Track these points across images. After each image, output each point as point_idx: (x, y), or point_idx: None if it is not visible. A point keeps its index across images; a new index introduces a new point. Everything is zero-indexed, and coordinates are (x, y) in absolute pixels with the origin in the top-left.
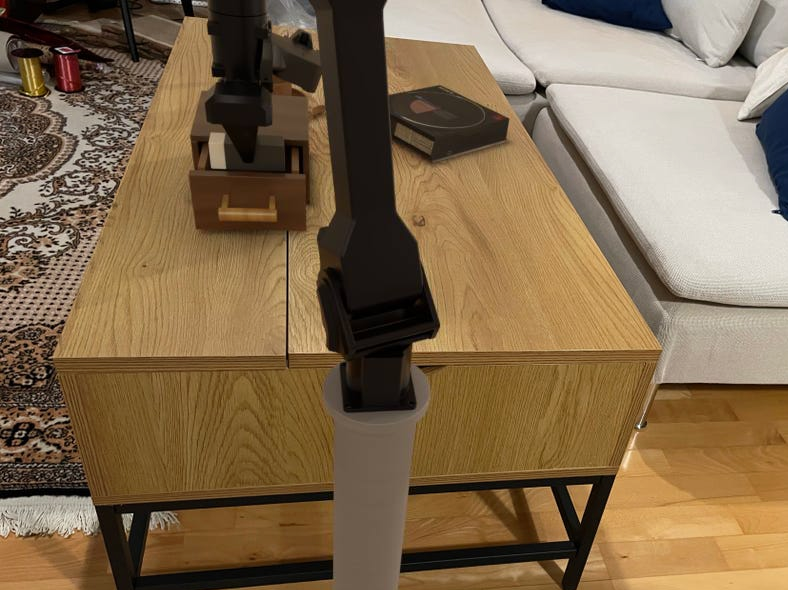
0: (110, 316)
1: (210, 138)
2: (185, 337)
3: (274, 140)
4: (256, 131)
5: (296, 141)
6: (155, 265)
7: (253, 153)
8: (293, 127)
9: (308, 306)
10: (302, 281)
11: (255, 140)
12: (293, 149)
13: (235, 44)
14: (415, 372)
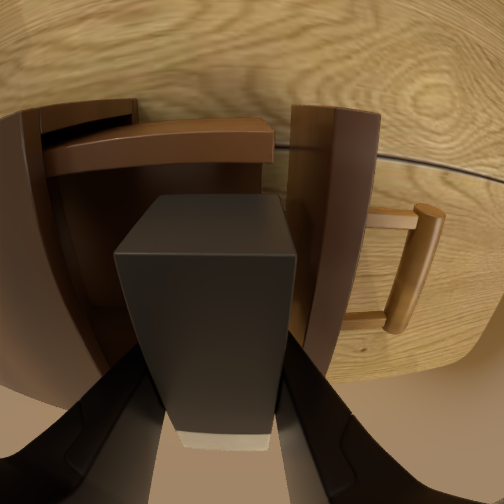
0: (438, 351)
1: (233, 450)
2: (493, 288)
3: (201, 305)
4: (382, 451)
5: (31, 164)
6: (365, 341)
7: (307, 358)
8: None
9: (500, 151)
10: (456, 144)
11: (347, 408)
12: (61, 167)
13: None
14: None
